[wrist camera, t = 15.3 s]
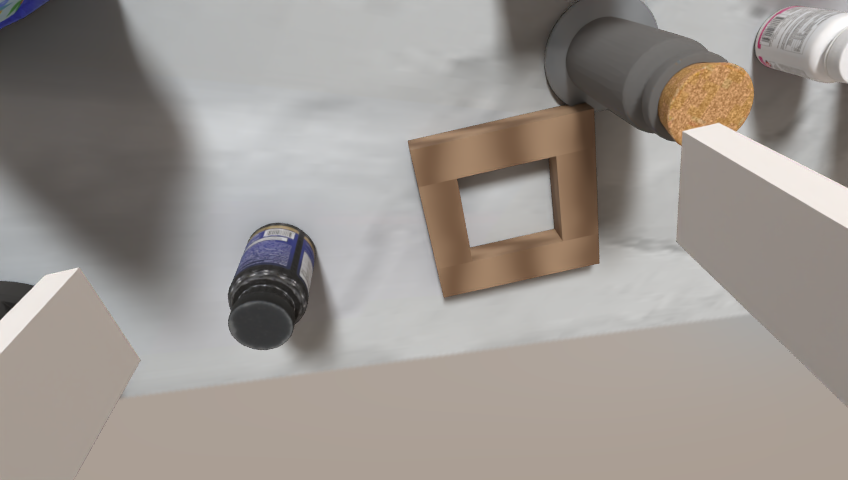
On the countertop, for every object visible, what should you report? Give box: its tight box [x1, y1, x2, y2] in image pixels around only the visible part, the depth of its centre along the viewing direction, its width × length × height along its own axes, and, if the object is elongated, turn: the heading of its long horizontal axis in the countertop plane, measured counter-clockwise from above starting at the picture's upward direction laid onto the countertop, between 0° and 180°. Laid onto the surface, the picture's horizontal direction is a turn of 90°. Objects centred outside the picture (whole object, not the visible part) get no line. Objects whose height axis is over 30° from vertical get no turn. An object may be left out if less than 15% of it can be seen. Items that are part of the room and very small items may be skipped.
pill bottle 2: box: [755, 6, 848, 84], centre depth 38 cm, size 5×5×8 cm
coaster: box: [544, 0, 658, 111], centre depth 41 cm, size 9×9×1 cm
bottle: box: [566, 17, 754, 146], centre depth 34 cm, size 6×6×15 cm
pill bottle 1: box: [228, 223, 315, 350], centre depth 42 cm, size 6×6×11 cm
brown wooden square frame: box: [408, 103, 599, 297], centre depth 46 cm, size 15×15×2 cm
